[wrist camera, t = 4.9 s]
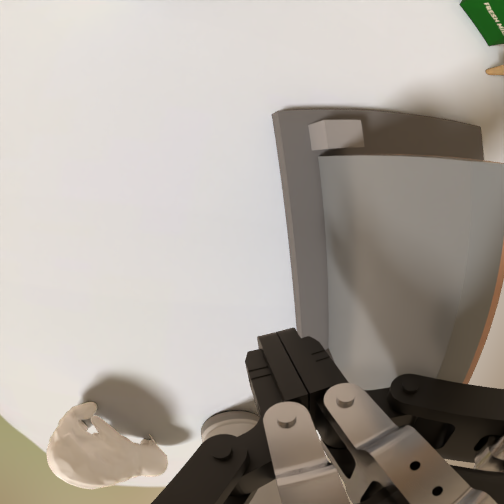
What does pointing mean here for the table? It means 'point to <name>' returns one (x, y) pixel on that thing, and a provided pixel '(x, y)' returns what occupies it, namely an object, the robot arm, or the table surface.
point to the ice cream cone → (496, 70)
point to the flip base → (310, 192)
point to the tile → (411, 263)
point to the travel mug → (237, 424)
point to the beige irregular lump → (99, 452)
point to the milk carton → (487, 18)
